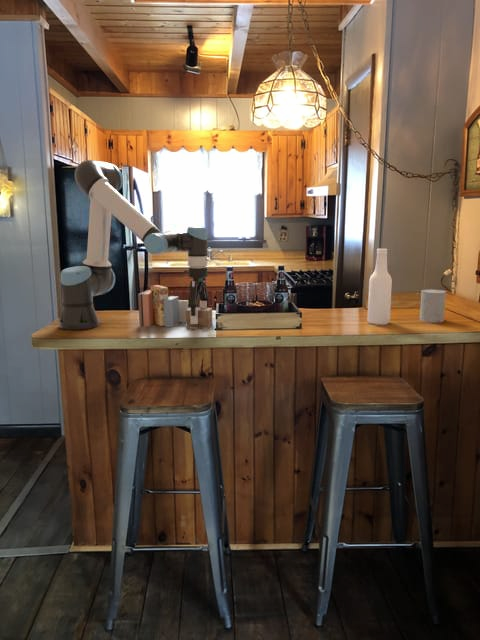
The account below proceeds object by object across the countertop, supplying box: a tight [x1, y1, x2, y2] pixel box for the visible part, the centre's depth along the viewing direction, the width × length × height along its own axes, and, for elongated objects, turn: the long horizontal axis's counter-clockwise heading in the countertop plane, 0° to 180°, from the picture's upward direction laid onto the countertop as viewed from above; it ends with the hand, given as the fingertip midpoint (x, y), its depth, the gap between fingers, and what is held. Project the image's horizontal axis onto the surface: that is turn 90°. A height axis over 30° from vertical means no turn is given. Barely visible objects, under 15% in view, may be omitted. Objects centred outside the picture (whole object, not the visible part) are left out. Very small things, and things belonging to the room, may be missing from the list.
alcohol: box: [366, 247, 393, 326], centre depth 206 cm, size 9×9×30 cm
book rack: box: [137, 289, 189, 327], centre depth 208 cm, size 17×12×13 cm
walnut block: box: [185, 307, 213, 329], centre depth 205 cm, size 9×6×7 cm, turn 79°
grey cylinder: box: [418, 288, 447, 324], centre depth 213 cm, size 10×10×12 cm
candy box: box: [149, 284, 169, 327], centre depth 207 cm, size 9×4×15 cm, turn 33°
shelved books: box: [142, 291, 180, 328], centre depth 208 cm, size 12×9×13 cm
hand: (198, 320), depth 205 cm, fingers open, 13 cm apart
